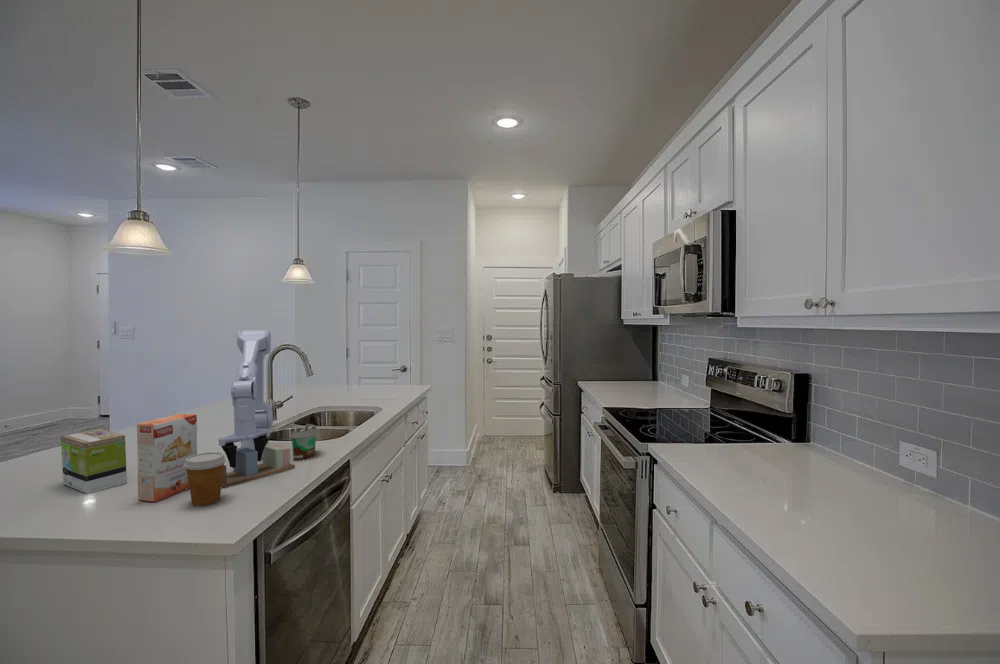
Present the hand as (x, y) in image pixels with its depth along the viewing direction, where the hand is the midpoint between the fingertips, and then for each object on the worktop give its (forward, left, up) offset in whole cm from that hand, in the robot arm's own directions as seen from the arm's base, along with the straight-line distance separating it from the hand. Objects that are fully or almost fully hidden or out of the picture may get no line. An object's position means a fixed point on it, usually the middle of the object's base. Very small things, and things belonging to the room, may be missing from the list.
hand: (245, 463), depth 147 cm
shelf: (0, +2, -4) cm, 4 cm away
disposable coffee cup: (+11, -16, -4) cm, 20 cm away
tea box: (-29, -29, -4) cm, 41 cm away
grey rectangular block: (0, 0, -3) cm, 3 cm away
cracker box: (-4, -19, -4) cm, 20 cm away
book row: (0, +10, -3) cm, 10 cm away
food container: (-3, +23, -4) cm, 24 cm away
